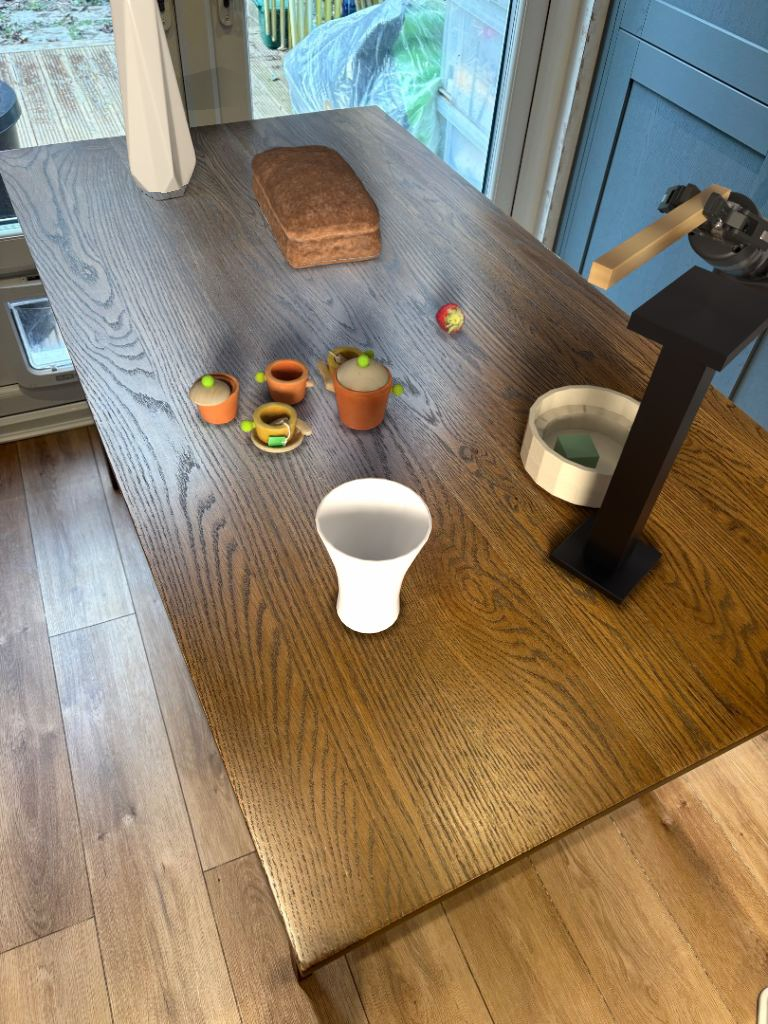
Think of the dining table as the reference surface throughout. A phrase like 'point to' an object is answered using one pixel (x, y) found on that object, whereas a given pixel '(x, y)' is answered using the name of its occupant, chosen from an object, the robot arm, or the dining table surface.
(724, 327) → the stand
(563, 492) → the bowl
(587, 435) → the block
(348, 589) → the cup
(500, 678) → the dining table surface
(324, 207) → the bread
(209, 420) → the toy tea set
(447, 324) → the fruit
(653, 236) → the rectangular bar
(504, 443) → the dining table surface
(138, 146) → the vase
